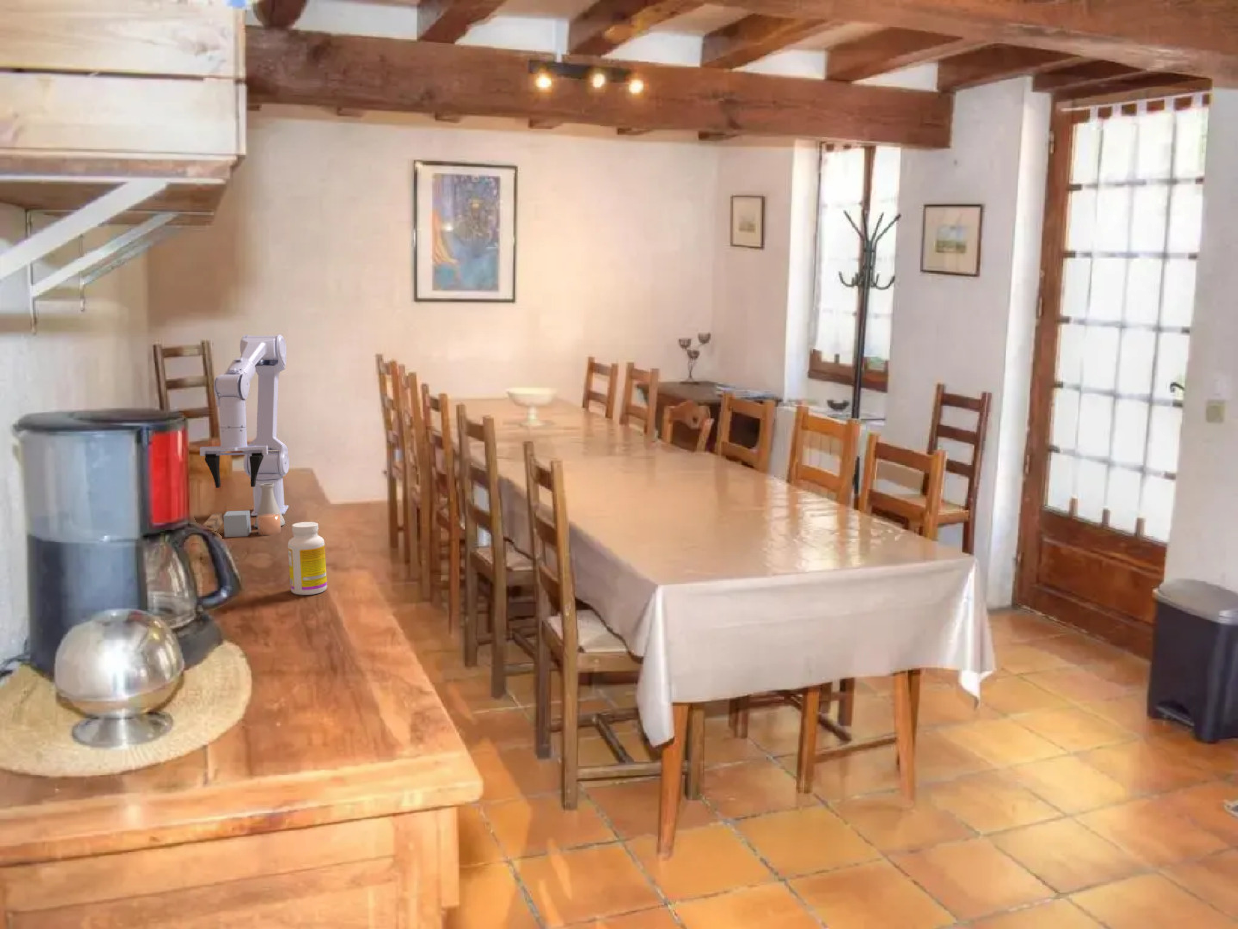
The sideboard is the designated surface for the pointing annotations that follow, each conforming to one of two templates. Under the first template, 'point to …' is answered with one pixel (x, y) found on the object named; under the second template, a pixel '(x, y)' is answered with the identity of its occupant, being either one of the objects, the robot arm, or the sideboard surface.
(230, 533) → the slate block
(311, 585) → the supplement bottle
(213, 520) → the walnut rail
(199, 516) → the sideboard surface
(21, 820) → the sideboard surface
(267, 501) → the flask
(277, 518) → the peach egg shape
